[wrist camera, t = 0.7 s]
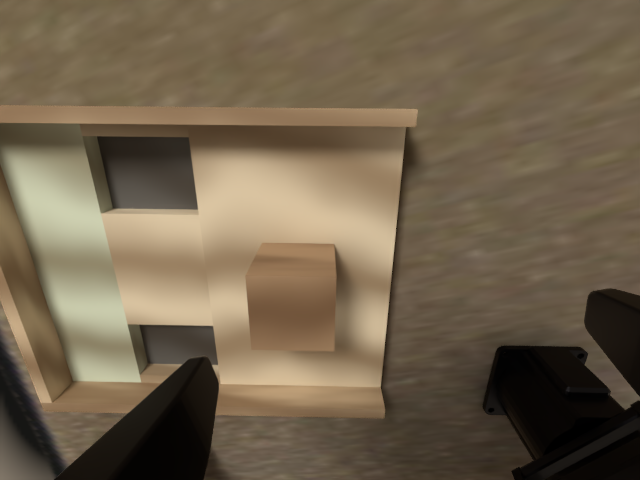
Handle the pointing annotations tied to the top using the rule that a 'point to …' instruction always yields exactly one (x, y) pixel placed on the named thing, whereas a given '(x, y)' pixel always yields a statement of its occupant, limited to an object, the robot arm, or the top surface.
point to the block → (292, 297)
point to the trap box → (193, 248)
